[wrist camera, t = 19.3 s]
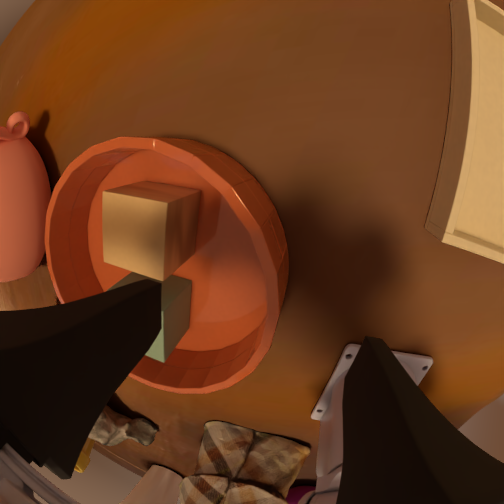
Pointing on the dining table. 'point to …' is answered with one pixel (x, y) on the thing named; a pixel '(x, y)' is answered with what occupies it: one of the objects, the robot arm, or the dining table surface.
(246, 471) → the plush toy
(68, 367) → the robot arm
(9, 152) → the teapot
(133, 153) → the bowl
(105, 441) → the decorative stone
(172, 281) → the block
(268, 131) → the dining table surface
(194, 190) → the block
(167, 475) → the cup
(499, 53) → the beige rectangular tray
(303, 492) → the christmas ornament
